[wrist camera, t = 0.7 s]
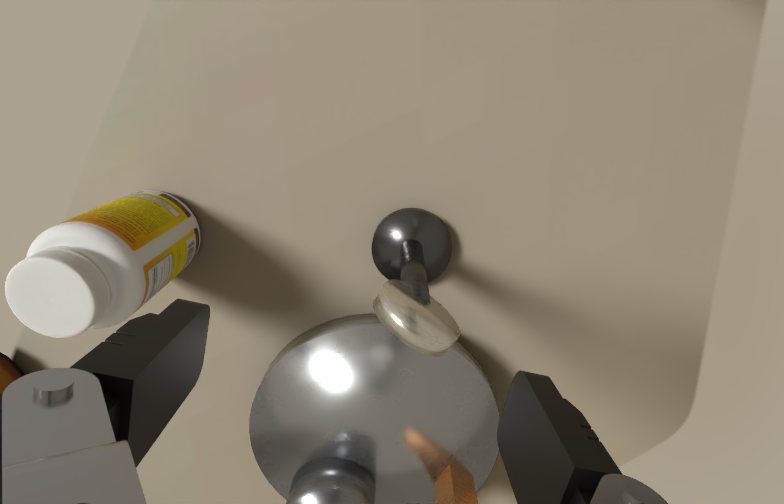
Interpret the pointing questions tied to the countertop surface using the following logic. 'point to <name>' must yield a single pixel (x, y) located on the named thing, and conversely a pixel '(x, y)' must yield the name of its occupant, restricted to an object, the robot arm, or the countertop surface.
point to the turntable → (377, 413)
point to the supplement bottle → (102, 264)
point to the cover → (332, 483)
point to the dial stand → (413, 280)
